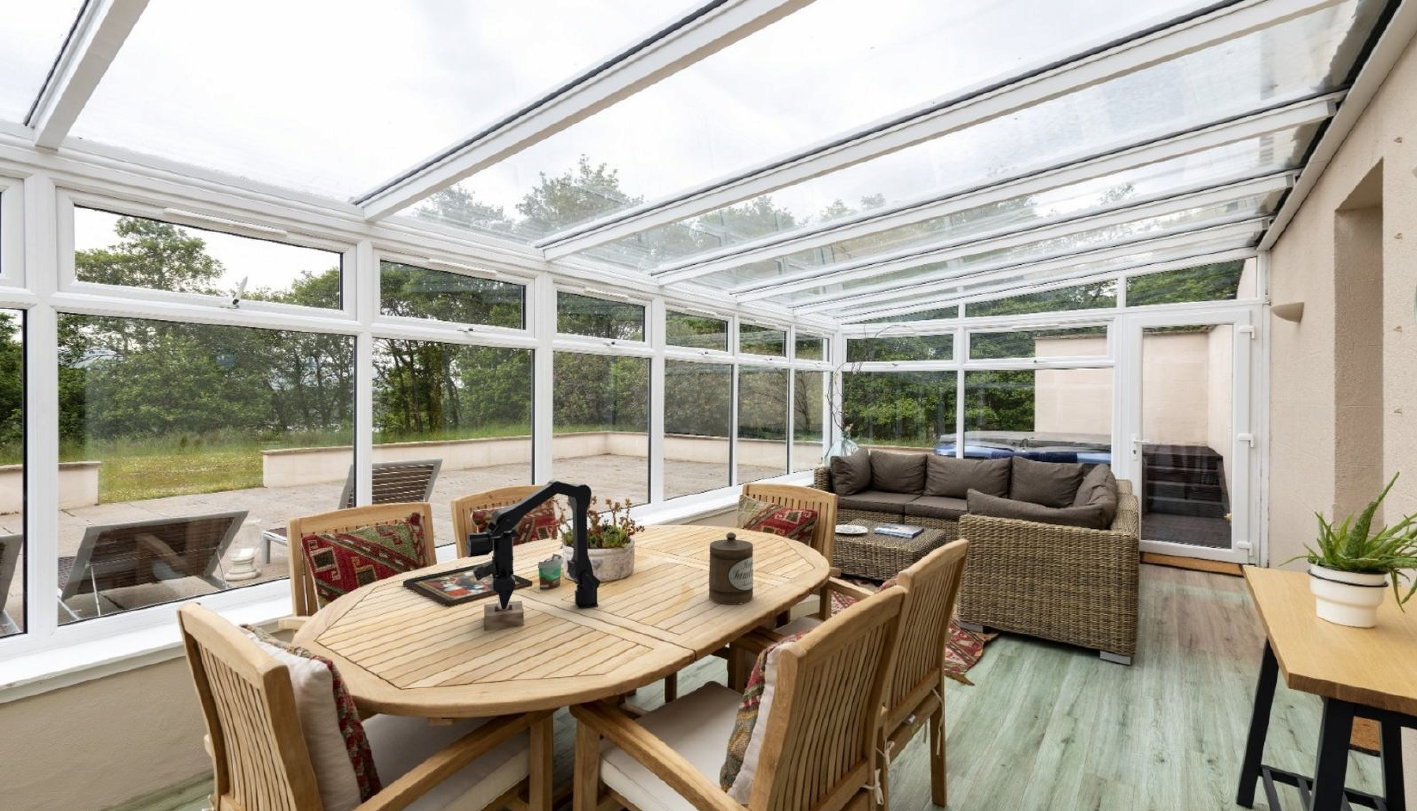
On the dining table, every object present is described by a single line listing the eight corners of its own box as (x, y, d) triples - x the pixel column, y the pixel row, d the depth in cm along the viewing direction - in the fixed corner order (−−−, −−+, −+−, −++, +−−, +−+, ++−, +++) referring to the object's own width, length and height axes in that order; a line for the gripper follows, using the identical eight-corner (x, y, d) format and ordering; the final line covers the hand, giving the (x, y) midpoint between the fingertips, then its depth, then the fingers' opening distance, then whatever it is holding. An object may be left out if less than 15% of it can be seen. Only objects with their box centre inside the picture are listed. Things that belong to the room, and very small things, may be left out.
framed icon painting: (391, 589, 221) (391, 581, 221) (478, 567, 250) (478, 560, 250) (454, 612, 199) (454, 603, 199) (541, 585, 228) (541, 577, 228)
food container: (554, 591, 217) (554, 563, 217) (537, 590, 218) (537, 562, 218) (569, 581, 229) (569, 554, 229) (553, 580, 230) (553, 553, 230)
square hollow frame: (521, 613, 196) (521, 600, 195) (523, 625, 185) (523, 612, 185) (484, 617, 192) (484, 604, 192) (484, 630, 181) (484, 616, 181)
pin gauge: (508, 619, 190) (508, 593, 190) (508, 622, 188) (508, 596, 187) (498, 620, 189) (498, 594, 189) (498, 623, 187) (498, 597, 186)
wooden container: (740, 607, 201) (740, 539, 201) (701, 600, 209) (701, 534, 208) (760, 595, 214) (760, 530, 214) (722, 588, 221) (722, 526, 221)
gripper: (475, 547, 194) (475, 597, 194) (474, 562, 177) (474, 617, 177) (512, 544, 198) (512, 593, 198) (515, 559, 180) (515, 613, 181)
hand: (503, 604), depth 188 cm, fingers open, 9 cm apart
